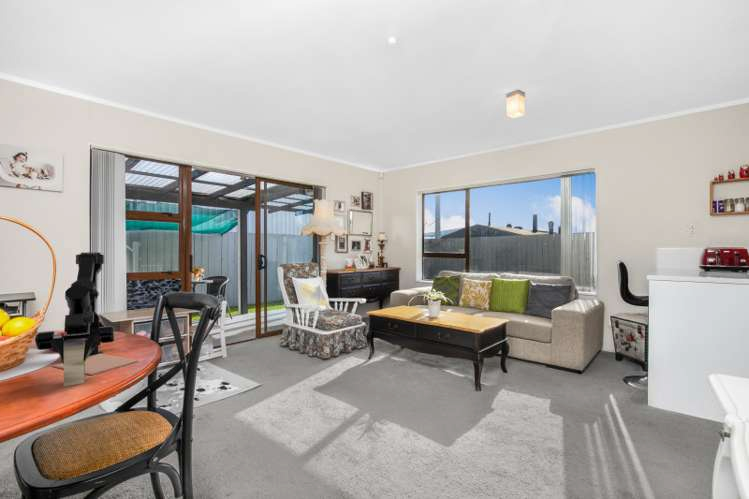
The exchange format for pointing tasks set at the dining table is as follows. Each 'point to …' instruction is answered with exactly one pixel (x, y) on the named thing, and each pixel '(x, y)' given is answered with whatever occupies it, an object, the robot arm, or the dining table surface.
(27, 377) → the dining table surface
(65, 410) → the dining table surface
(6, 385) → the dining table surface
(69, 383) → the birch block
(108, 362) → the rubber mat
